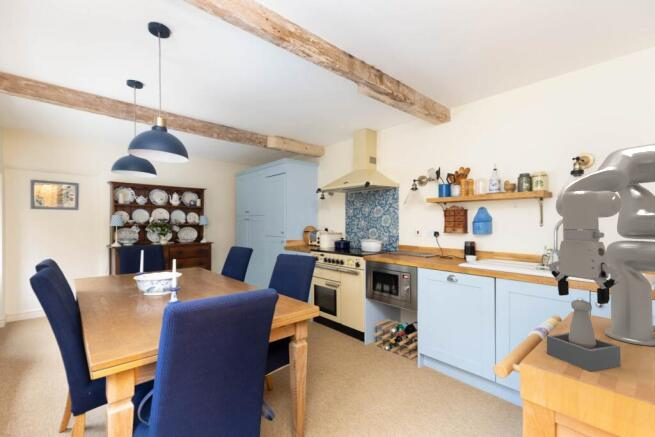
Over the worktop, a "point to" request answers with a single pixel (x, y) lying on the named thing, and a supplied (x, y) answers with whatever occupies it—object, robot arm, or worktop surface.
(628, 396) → the worktop surface
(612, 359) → the press housing
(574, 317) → the grey bowling pin
